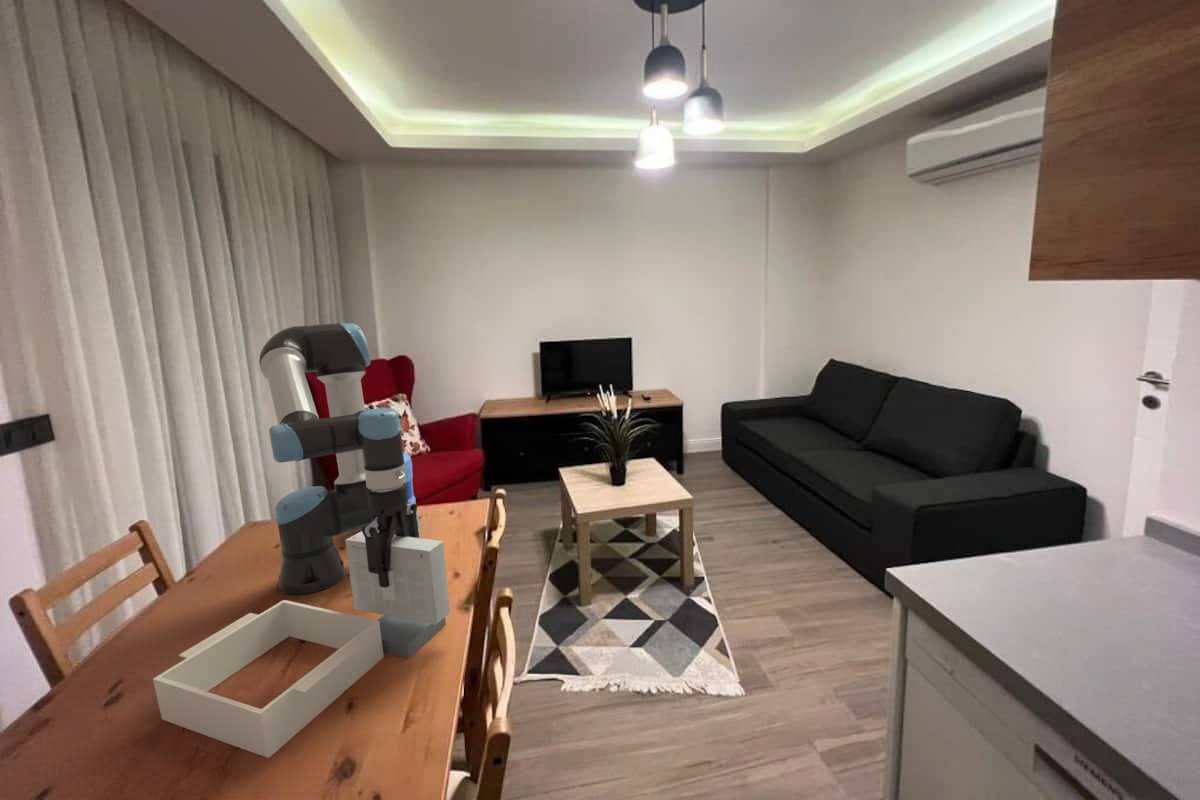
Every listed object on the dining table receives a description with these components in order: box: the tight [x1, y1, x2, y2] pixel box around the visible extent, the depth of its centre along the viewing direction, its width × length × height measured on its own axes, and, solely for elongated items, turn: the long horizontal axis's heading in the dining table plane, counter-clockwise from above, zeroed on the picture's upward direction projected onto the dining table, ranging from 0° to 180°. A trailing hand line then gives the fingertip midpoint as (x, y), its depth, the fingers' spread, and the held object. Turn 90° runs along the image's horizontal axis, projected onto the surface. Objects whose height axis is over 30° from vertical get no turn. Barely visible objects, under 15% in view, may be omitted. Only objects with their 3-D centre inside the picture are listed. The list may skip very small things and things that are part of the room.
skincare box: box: [344, 530, 451, 625], centre depth 115 cm, size 21×5×16 cm, turn 70°
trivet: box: [377, 615, 446, 659], centre depth 117 cm, size 12×12×3 cm
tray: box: [152, 599, 385, 759], centre depth 103 cm, size 31×26×8 cm
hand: (399, 591), depth 115 cm, fingers closed on skincare box, 5 cm apart
